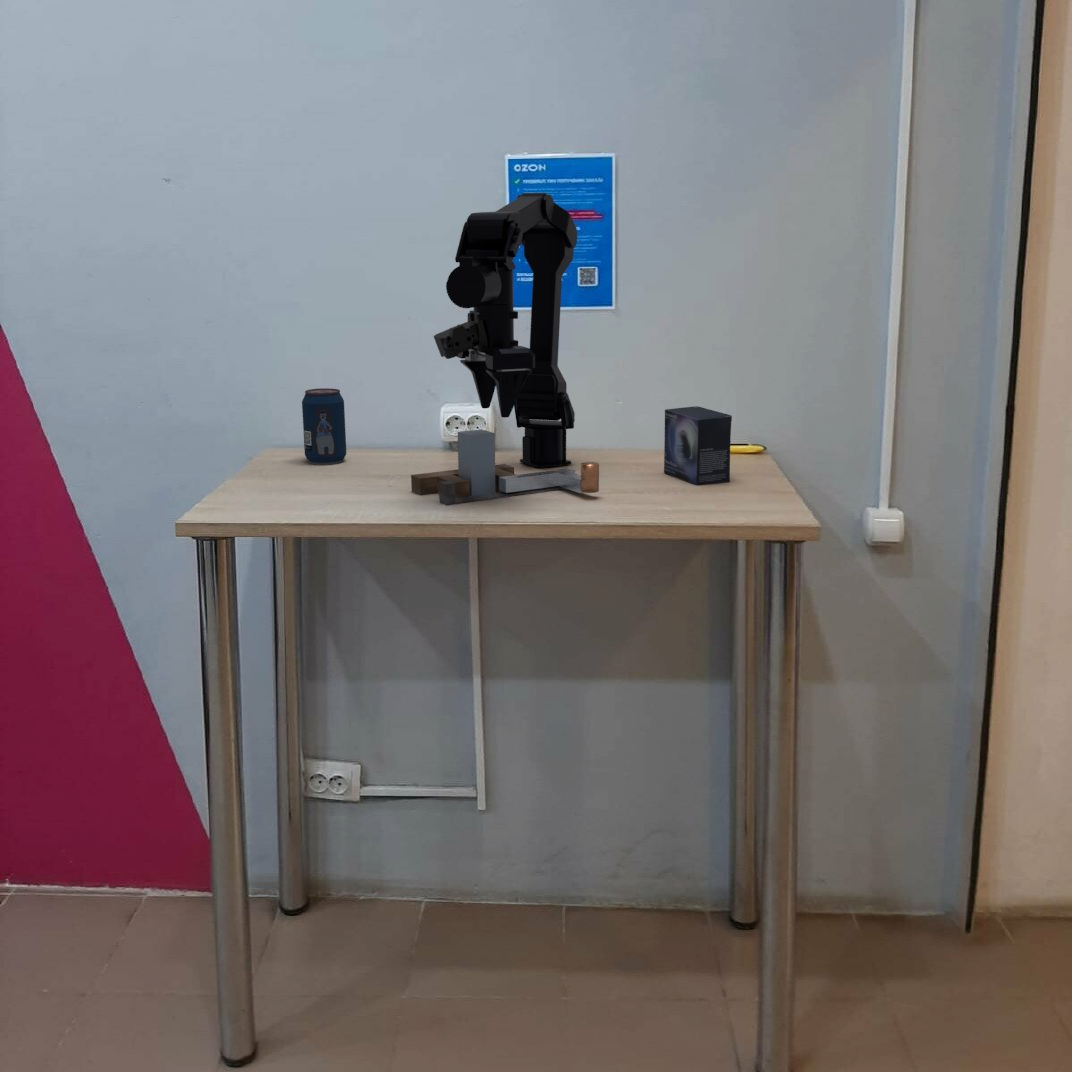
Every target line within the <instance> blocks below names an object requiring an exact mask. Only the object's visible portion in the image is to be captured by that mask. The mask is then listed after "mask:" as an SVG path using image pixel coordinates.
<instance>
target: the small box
mask: <svg viewBox="0 0 1072 1072" xmlns="http://www.w3.org/2000/svg"><path fill="white" fill-rule="evenodd" d="M732 419H733V416H732V415H731V414H728V413H723V412H721V411H720V412H719V411H717V410H716V411H715V410H712V409H709V408H705V407H702V406H697V405H695V406H687V407H678V408H677V407H676V408H668V409H667V408H666V409H664V445H663V446H664V451H663V455H664V459H663V460H664V462H663V464H664V465H663V473H665V474H667V475H670V476H672V477H674V478H676V479H679V480H682V481H683V482H684V481H685V482H687V483H690V484H693V485H695V486H702V485H704V486H705V485H715V484H723V483H730V482H731V477H730V476H731V442H732V441H731V437H732V436H731V435H732V433H731V432H732V431H731V430H732V421H733V420H732Z"/></svg>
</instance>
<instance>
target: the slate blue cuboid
mask: <svg viewBox="0 0 1072 1072" xmlns="http://www.w3.org/2000/svg"><path fill="white" fill-rule="evenodd" d="M495 435H496V434H495V432H492V431H489V430H485V429H482V428H481V429H470V430H462V431H461V430H460V431H457V460H458V462H457V463H458V466H457V468H458V473H459V477H460V478H463V479H465V480H468V481H469V492H470V496H476V495H484V494H491V493H497V491H496V490H495V465H496V441H495V440H496V439H495V437H496V436H495Z"/></svg>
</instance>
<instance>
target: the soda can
mask: <svg viewBox="0 0 1072 1072" xmlns="http://www.w3.org/2000/svg"><path fill="white" fill-rule="evenodd" d="M340 392H341V391H340V389H338V388H328V387H327V388H325V387H324V388H312V389H311V388H310V389H307V390H305V391H304V397H303V398H302V401H301V408H302V409H301V410H302V411H301V412H302V425H303V445H304V447H303V448H304V456H305V458H306V460H307V461H308V462H309V463H310V464H311V463H313V464H312V465H318V464H328V465H336V464H335V463H337V464H340V463H339V462H341V463H342V462H344V460H345V457H346V455H347V438H346V436H347V435H346V434H347V433H346V419H345V418H346V416H345V413H346V412H345V400H344V398H343V396H342V394H341V393H340Z"/></svg>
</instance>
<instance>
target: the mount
mask: <svg viewBox="0 0 1072 1072" xmlns="http://www.w3.org/2000/svg"><path fill="white" fill-rule="evenodd" d="M512 475H517V474H516V473H515V466H512V465H510V464H506V463H500V464H499V463H498V464H495V490H496V493H491V494H484V495H476V496H470V492H469V481H468V480H465V479H463V478H460V477H459V473H458V469H457V468H456V469H450V470H449V469H448V470H442V471H433V472H425V473H416V474H411V475H410V480H411V481H410V483H411V484H410V485H411V492H412V493H414V494H417V495H420V496H423V495H430V494H431V495H432V494H438V495H439V503H440V504H441V505H444V506H451V505H456V504H457V505H459V504H462V503H463V504H464V503H470V502H471V503H472V502H479V501H485V500H492V499H494V500H495V499H500V498H506V497H507V498H509V497H516V496H521V495H531V494H537V493H545V492H551V491H559V490H567V489H566V488H563V487H560V486H554V487H546V488H539V489H531V490H524V491H517V492H509V493H505V492H502V491H499V477H504V476H512Z"/></svg>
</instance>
